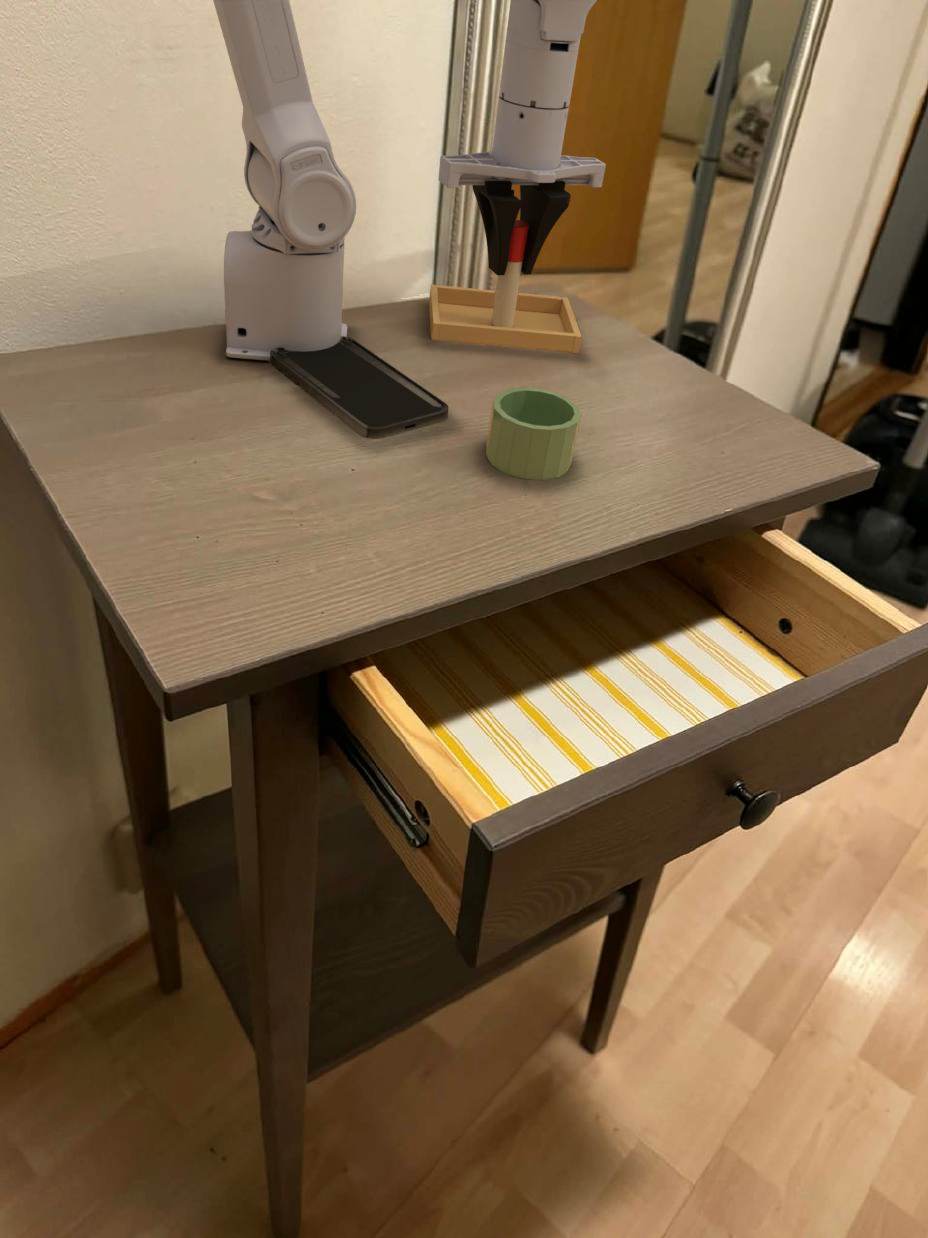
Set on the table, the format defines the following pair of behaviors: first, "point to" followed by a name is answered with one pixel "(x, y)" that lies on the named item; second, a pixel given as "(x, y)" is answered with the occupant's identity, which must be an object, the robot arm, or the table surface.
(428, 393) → the phone
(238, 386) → the table surface
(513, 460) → the pen cup
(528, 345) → the pen tray
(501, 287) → the marker
